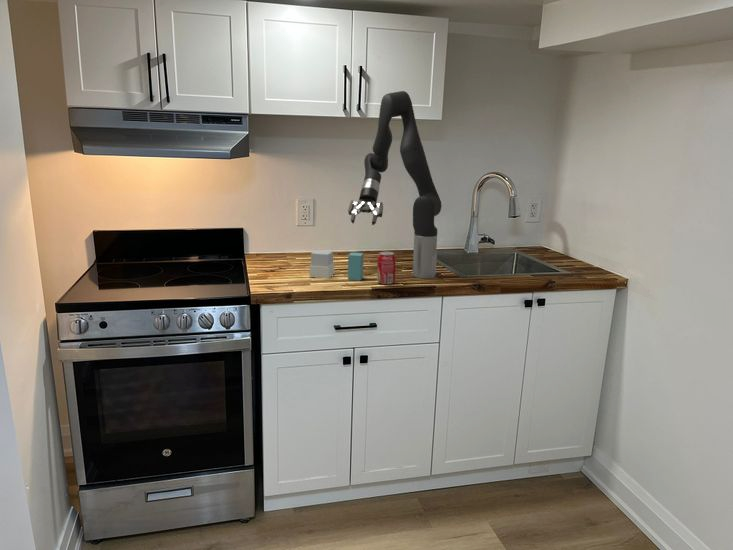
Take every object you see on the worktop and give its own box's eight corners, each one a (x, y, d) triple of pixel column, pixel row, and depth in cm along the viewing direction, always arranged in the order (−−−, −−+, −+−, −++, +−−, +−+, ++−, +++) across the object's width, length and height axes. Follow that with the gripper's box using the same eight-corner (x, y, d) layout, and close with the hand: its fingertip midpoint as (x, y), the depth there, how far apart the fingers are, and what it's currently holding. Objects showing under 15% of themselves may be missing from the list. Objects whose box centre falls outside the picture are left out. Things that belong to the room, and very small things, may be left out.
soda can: (384, 279, 219) (385, 250, 216) (398, 282, 215) (399, 253, 212) (373, 283, 214) (373, 253, 211) (387, 286, 209) (388, 255, 206)
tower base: (334, 274, 226) (334, 262, 224) (328, 279, 218) (328, 267, 217) (315, 273, 227) (315, 261, 226) (309, 278, 220) (309, 265, 218)
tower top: (333, 262, 224) (333, 251, 223) (327, 266, 218) (327, 254, 216) (316, 261, 226) (316, 249, 224) (311, 265, 219) (311, 253, 218)
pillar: (363, 277, 222) (363, 253, 219) (360, 280, 217) (360, 255, 214) (351, 276, 223) (351, 252, 220) (348, 279, 218) (348, 255, 215)
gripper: (352, 185, 231) (344, 216, 223) (385, 187, 228) (378, 219, 221) (354, 196, 238) (347, 227, 230) (386, 198, 235) (380, 229, 227)
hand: (362, 223), depth 225 cm, fingers open, 8 cm apart
